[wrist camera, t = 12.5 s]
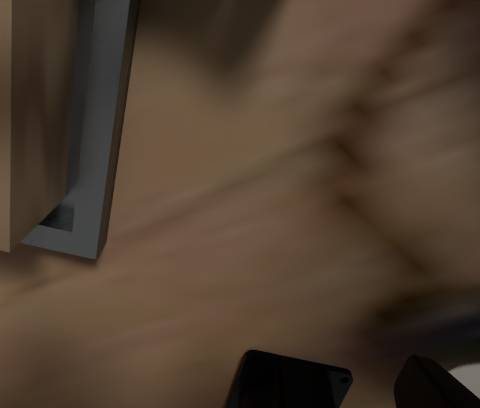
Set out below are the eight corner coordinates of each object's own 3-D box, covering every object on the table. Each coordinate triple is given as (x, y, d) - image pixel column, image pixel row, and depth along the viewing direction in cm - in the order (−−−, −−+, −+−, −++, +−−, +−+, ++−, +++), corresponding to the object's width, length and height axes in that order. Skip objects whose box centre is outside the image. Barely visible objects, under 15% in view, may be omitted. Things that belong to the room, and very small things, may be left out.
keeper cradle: (106, 242, 21) (95, 259, 19) (-57, 206, 20) (-81, 220, 18) (152, -88, 15) (142, -99, 13) (-75, -158, 14) (-112, -178, 13)
